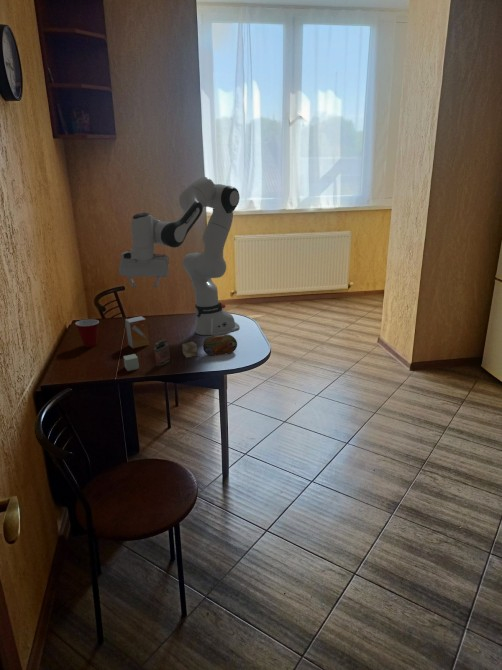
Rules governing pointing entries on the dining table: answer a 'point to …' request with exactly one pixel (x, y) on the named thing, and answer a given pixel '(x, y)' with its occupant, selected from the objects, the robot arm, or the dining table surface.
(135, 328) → the small box
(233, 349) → the tin
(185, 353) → the cream rounded lump
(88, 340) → the plastic cup
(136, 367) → the sage block
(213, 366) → the dining table surface
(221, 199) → the robot arm
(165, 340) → the lighter
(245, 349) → the dining table surface
